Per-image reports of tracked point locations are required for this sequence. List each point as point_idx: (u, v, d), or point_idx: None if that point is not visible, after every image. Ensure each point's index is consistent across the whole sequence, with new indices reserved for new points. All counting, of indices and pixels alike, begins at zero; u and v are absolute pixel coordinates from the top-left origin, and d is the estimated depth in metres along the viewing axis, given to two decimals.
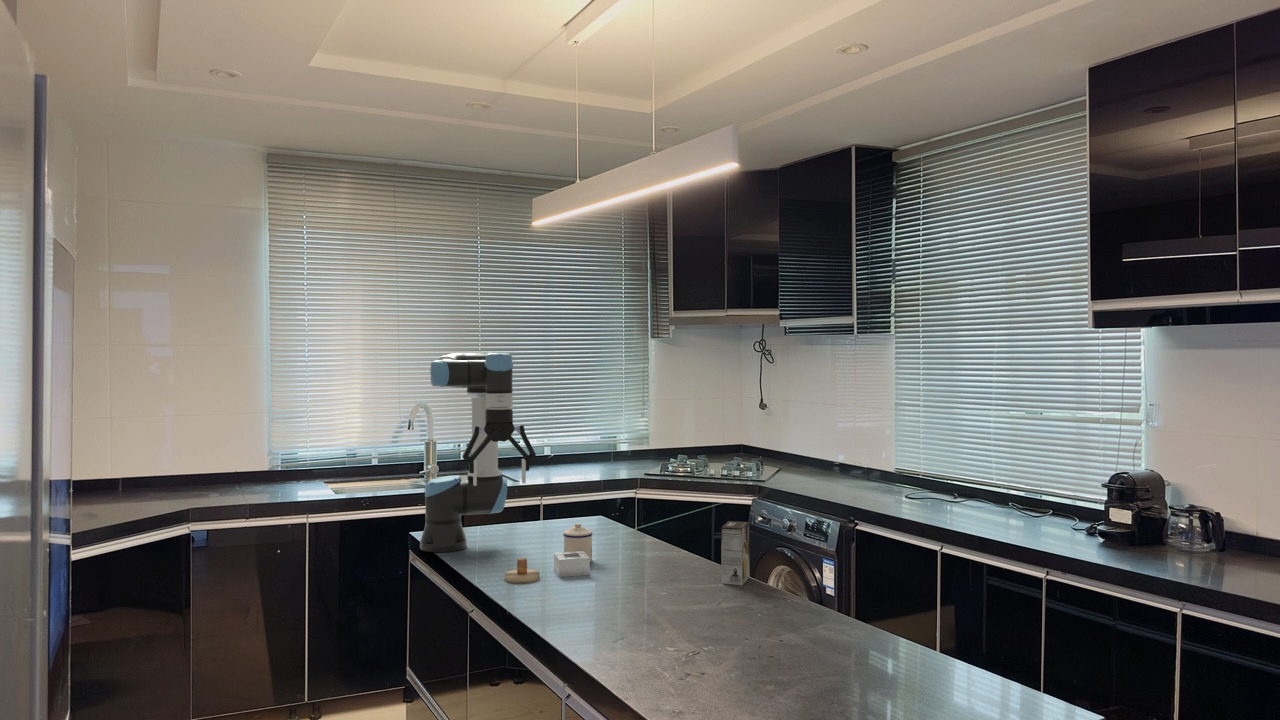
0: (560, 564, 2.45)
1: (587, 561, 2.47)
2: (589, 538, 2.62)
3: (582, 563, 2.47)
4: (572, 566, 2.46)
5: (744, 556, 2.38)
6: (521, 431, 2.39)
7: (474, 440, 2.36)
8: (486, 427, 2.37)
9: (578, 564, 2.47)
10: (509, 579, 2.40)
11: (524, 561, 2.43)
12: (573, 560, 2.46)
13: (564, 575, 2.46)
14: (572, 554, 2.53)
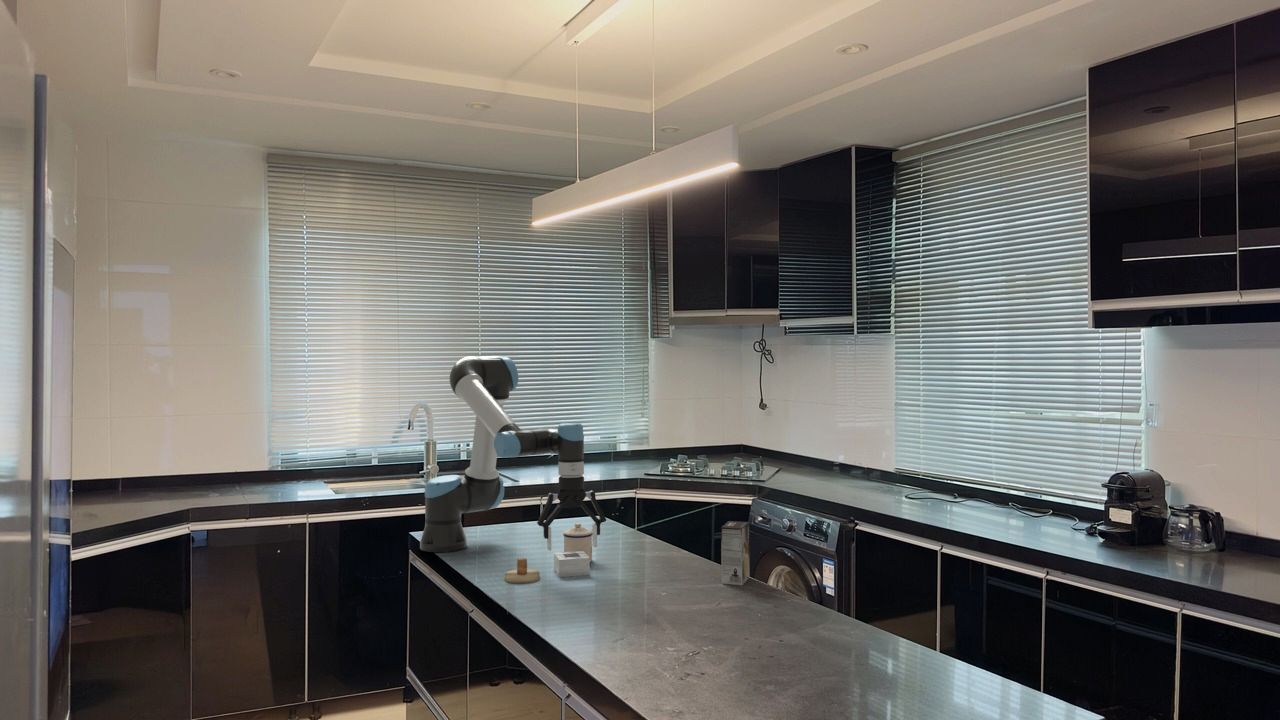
0: (560, 564, 2.45)
1: (587, 561, 2.47)
2: (589, 538, 2.62)
3: (582, 563, 2.47)
4: (572, 566, 2.46)
5: (744, 556, 2.38)
6: (592, 497, 2.51)
7: (548, 507, 2.47)
8: (559, 494, 2.49)
9: (578, 564, 2.47)
10: (509, 579, 2.40)
11: (524, 561, 2.43)
12: (573, 560, 2.46)
13: (564, 575, 2.46)
14: (572, 554, 2.53)
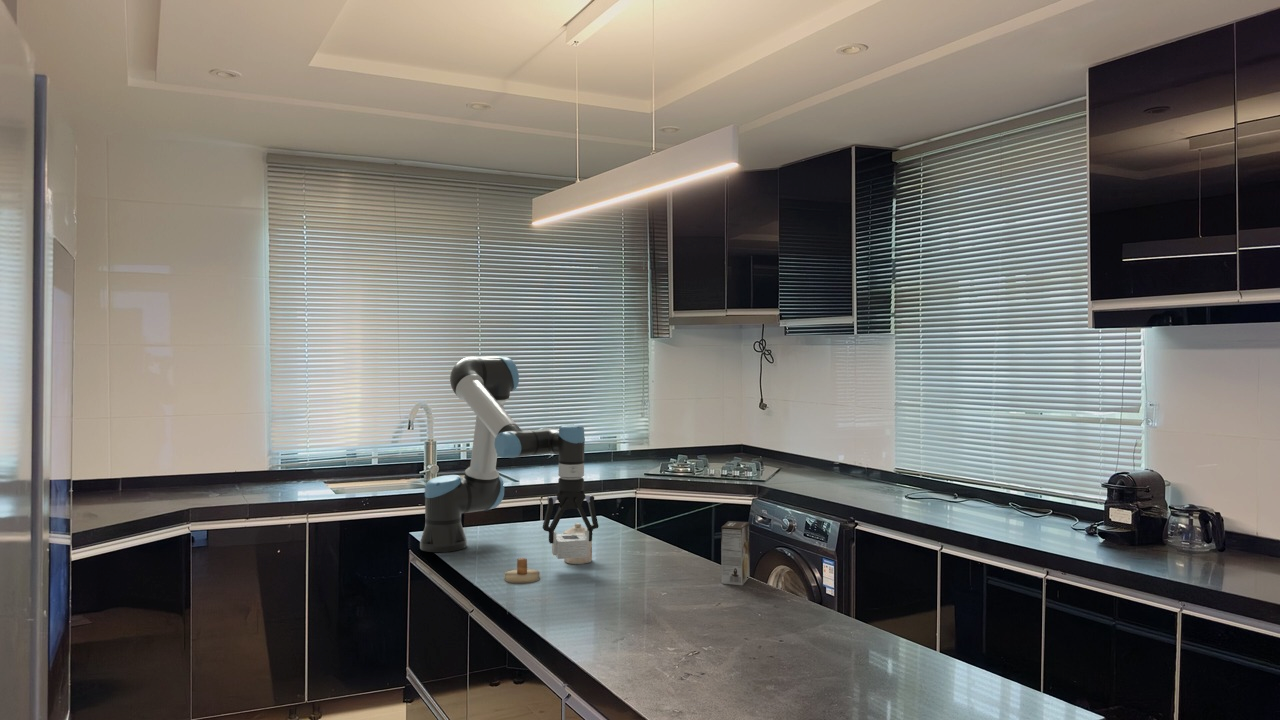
0: (559, 546, 2.46)
1: (586, 544, 2.48)
2: None
3: (581, 545, 2.48)
4: (571, 548, 2.47)
5: (744, 556, 2.38)
6: (591, 501, 2.51)
7: (550, 511, 2.48)
8: (559, 496, 2.49)
9: (577, 546, 2.47)
10: (509, 579, 2.40)
11: (524, 561, 2.43)
12: (572, 542, 2.47)
13: (563, 557, 2.46)
14: (571, 536, 2.53)
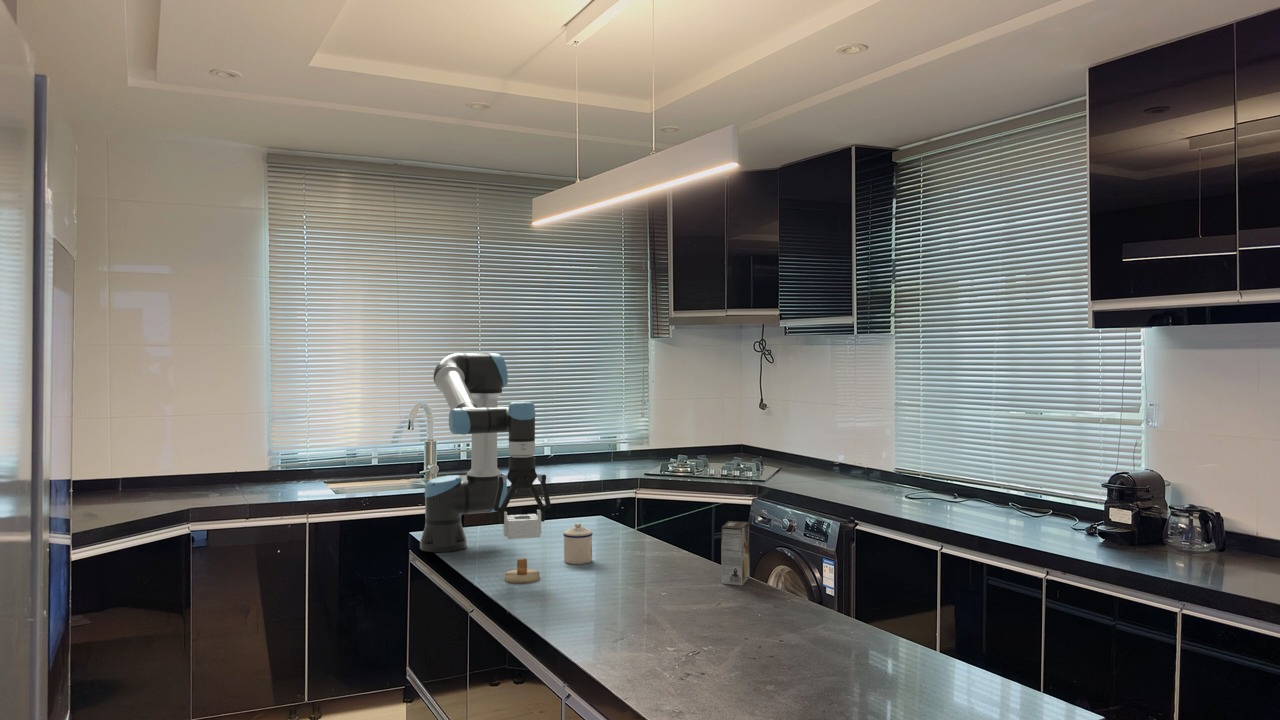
0: (509, 526, 2.38)
1: (538, 523, 2.40)
2: (589, 538, 2.62)
3: (533, 525, 2.40)
4: (522, 528, 2.39)
5: (744, 556, 2.38)
6: (542, 480, 2.44)
7: (500, 490, 2.41)
8: (509, 475, 2.42)
9: (528, 525, 2.40)
10: (509, 579, 2.40)
11: (524, 561, 2.43)
12: (523, 522, 2.39)
13: (514, 537, 2.39)
14: (523, 517, 2.46)
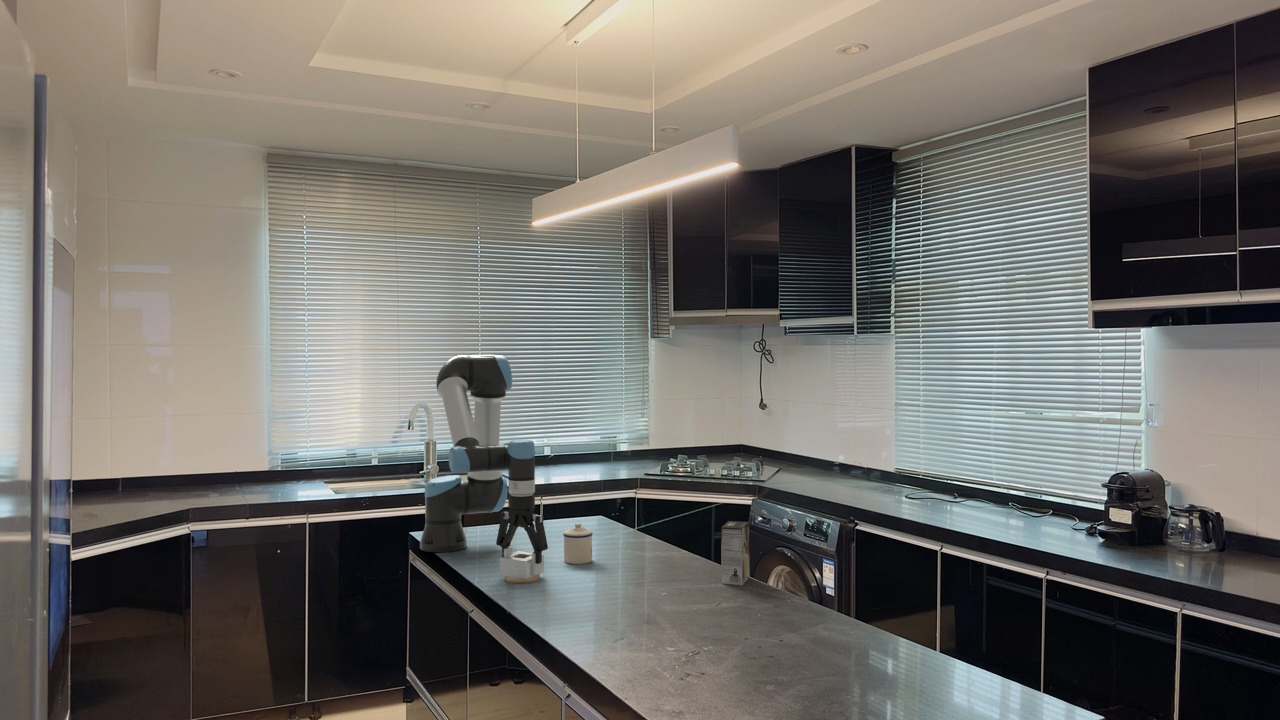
0: (500, 562, 2.42)
1: (524, 565, 2.38)
2: (589, 538, 2.62)
3: (520, 565, 2.39)
4: (511, 566, 2.40)
5: (744, 556, 2.38)
6: (535, 522, 2.40)
7: (501, 526, 2.46)
8: (509, 512, 2.45)
9: (516, 565, 2.39)
10: (509, 579, 2.40)
11: None
12: (511, 561, 2.40)
13: (504, 574, 2.41)
14: (528, 555, 2.45)
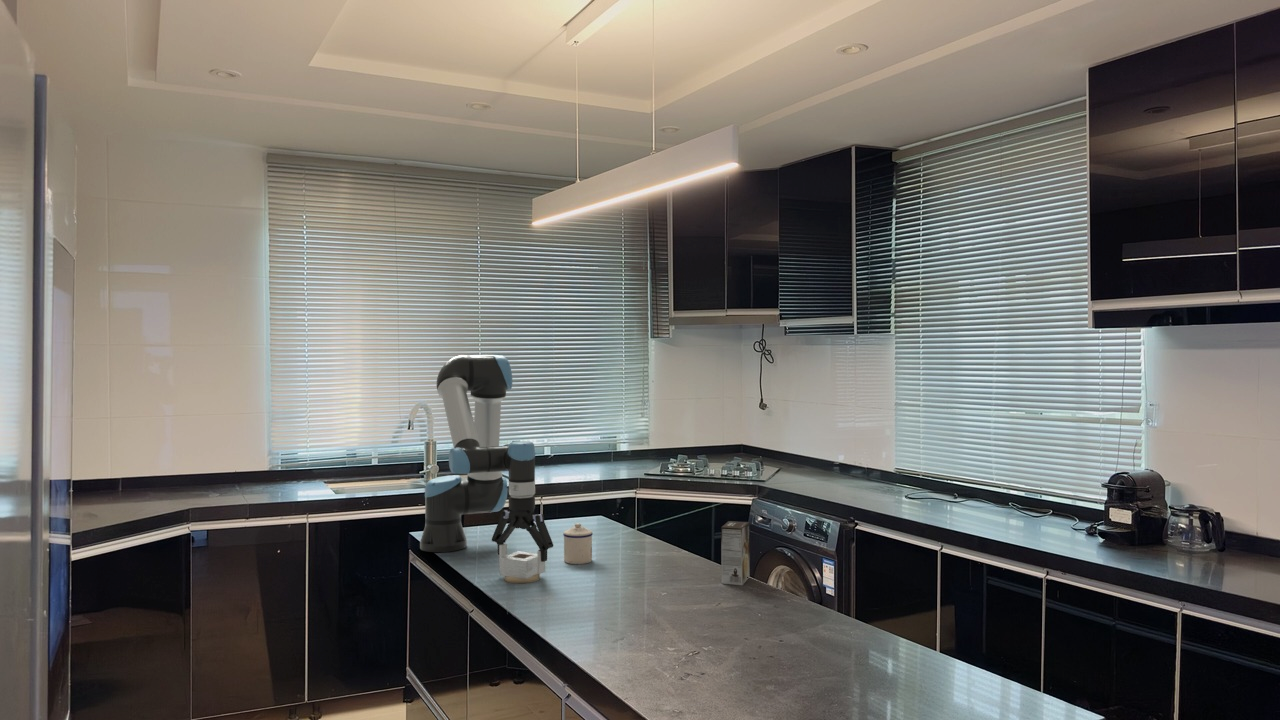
0: (500, 562, 2.42)
1: (524, 565, 2.38)
2: (589, 538, 2.62)
3: (520, 565, 2.39)
4: (511, 566, 2.40)
5: (744, 556, 2.38)
6: (536, 521, 2.40)
7: (500, 524, 2.46)
8: (509, 513, 2.45)
9: (516, 565, 2.39)
10: (509, 579, 2.40)
11: None
12: (511, 561, 2.40)
13: (504, 574, 2.41)
14: (528, 555, 2.45)
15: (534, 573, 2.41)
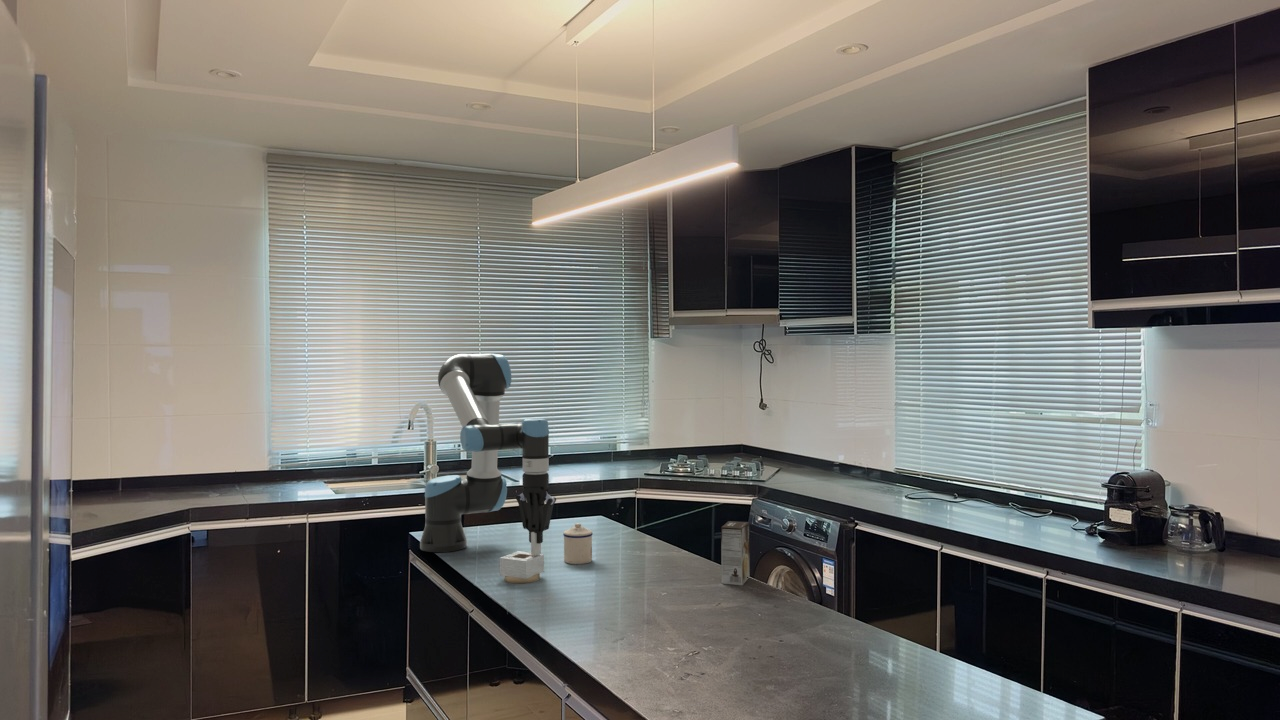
0: (500, 562, 2.42)
1: (524, 565, 2.38)
2: (589, 538, 2.62)
3: (520, 565, 2.39)
4: (511, 566, 2.40)
5: (744, 556, 2.38)
6: (547, 503, 2.41)
7: (521, 508, 2.46)
8: (522, 491, 2.46)
9: (516, 565, 2.39)
10: (509, 579, 2.40)
11: None
12: (511, 561, 2.40)
13: (504, 574, 2.41)
14: (528, 555, 2.45)
15: (534, 573, 2.41)
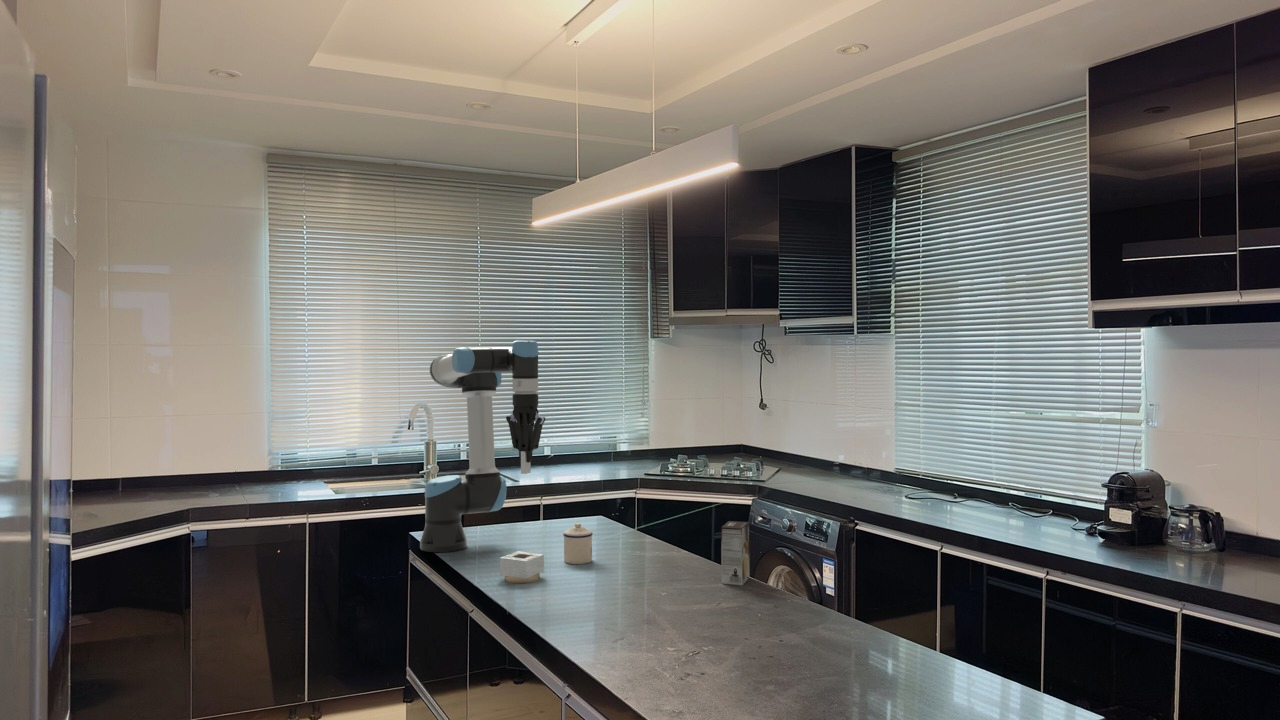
0: (500, 562, 2.42)
1: (524, 565, 2.38)
2: (589, 538, 2.62)
3: (520, 565, 2.39)
4: (511, 566, 2.40)
5: (744, 556, 2.38)
6: (536, 422, 2.46)
7: (511, 428, 2.51)
8: None
9: (516, 565, 2.39)
10: (509, 579, 2.40)
11: None
12: (511, 561, 2.40)
13: (504, 574, 2.41)
14: (528, 555, 2.45)
15: (534, 573, 2.41)
